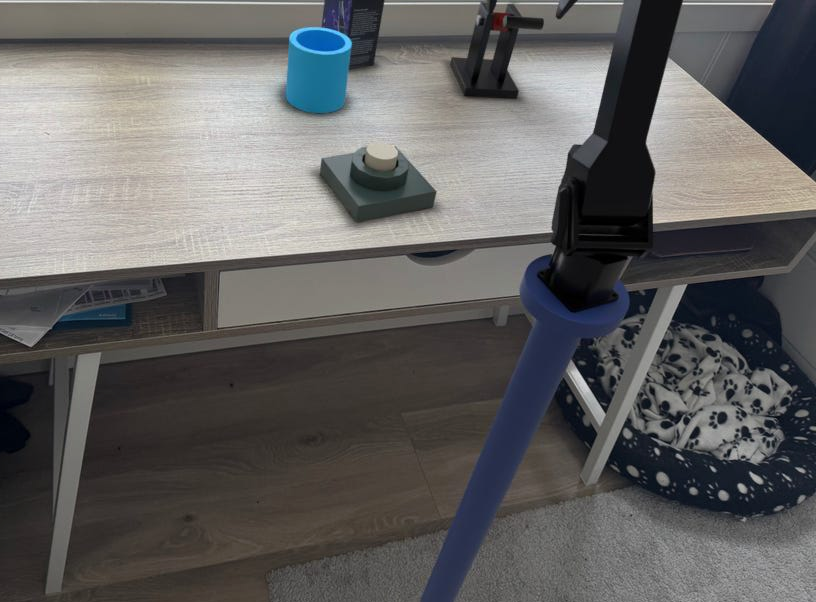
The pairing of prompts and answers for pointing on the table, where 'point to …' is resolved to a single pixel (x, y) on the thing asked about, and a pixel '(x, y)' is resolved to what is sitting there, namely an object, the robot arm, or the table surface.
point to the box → (356, 26)
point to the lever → (515, 22)
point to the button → (381, 156)
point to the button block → (376, 186)
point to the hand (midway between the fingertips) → (523, 15)
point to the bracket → (487, 60)
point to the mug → (317, 69)
